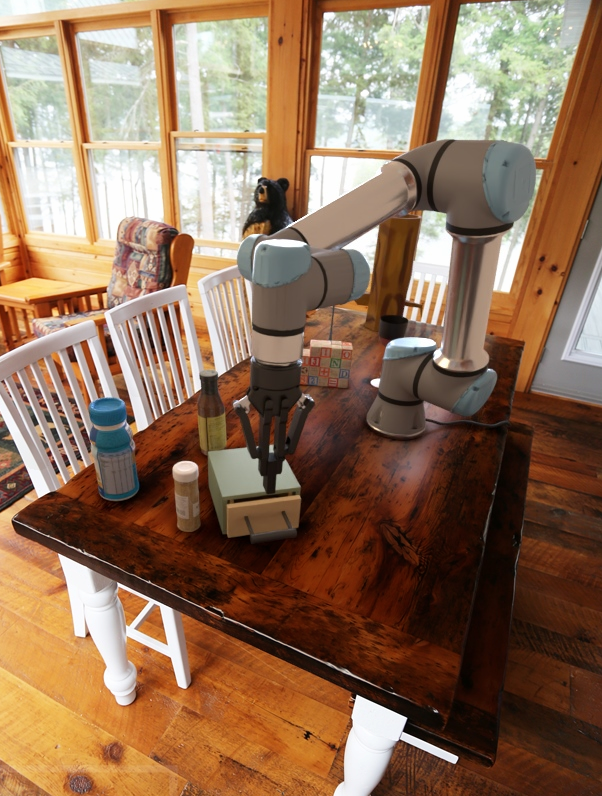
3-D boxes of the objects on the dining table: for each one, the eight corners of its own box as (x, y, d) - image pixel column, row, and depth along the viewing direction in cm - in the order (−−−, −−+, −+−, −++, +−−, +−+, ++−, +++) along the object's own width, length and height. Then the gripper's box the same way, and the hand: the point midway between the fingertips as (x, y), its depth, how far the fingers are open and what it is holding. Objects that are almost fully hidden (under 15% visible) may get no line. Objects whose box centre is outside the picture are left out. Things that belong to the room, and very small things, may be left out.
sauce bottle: (230, 447, 122) (230, 369, 111) (220, 460, 117) (219, 380, 106) (205, 442, 123) (203, 365, 113) (194, 454, 118) (190, 375, 108)
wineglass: (367, 386, 154) (377, 321, 143) (373, 376, 161) (383, 313, 150) (393, 391, 152) (405, 325, 141) (398, 380, 159) (410, 317, 148)
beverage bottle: (119, 508, 101) (105, 419, 90) (89, 493, 105) (73, 406, 94) (148, 487, 107) (139, 402, 96) (119, 474, 111) (107, 390, 100)
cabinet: (297, 523, 99) (300, 487, 94) (222, 534, 95) (222, 497, 90) (275, 478, 111) (277, 444, 107) (208, 486, 108) (207, 451, 103)
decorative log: (360, 209, 192) (442, 216, 185) (347, 316, 214) (419, 325, 207) (354, 214, 180) (441, 221, 173) (340, 326, 203) (417, 336, 195)
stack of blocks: (277, 383, 154) (279, 344, 147) (278, 375, 159) (280, 337, 153) (347, 388, 153) (353, 349, 146) (346, 380, 158) (352, 341, 151)
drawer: (310, 551, 91) (313, 521, 87) (235, 563, 88) (236, 533, 84) (277, 484, 108) (278, 456, 104) (214, 491, 105) (213, 464, 101)
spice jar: (205, 528, 97) (202, 469, 89) (183, 536, 94) (179, 476, 87) (194, 515, 100) (191, 457, 93) (172, 522, 98) (168, 464, 90)
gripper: (310, 345, 78) (298, 473, 91) (227, 350, 75) (227, 481, 88) (327, 364, 72) (312, 497, 85) (238, 369, 69) (236, 507, 82)
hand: (269, 489), depth 86 cm, fingers closed
